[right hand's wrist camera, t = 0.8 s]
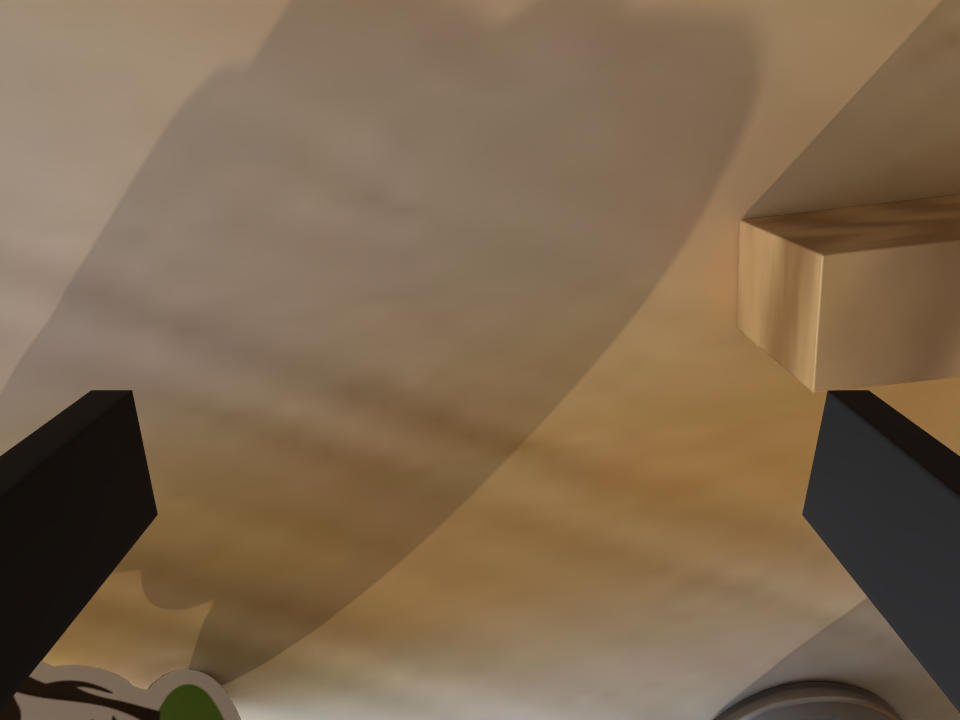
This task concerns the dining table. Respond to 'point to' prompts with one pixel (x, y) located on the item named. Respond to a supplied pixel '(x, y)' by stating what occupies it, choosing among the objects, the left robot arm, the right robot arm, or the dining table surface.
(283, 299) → the dining table surface
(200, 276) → the dining table surface
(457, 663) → the dining table surface
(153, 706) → the cutout
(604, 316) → the dining table surface
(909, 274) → the block
